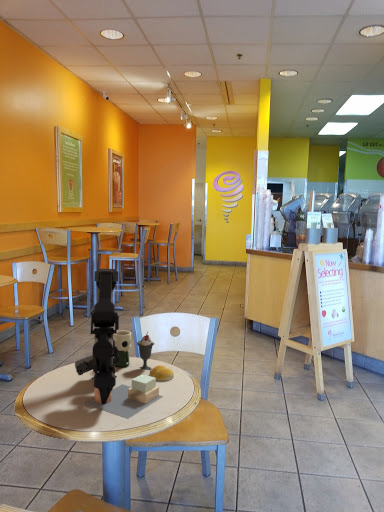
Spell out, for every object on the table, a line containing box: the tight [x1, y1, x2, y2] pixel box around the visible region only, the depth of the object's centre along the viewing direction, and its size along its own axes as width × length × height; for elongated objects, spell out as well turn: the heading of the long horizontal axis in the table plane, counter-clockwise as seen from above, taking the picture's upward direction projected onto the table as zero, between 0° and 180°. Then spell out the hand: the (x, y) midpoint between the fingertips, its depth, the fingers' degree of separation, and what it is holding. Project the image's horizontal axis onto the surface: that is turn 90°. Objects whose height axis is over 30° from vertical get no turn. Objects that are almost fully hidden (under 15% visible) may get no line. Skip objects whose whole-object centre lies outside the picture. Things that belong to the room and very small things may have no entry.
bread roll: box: [149, 365, 175, 382], centre depth 148 cm, size 8×9×4 cm
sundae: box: [136, 331, 155, 371], centre depth 155 cm, size 7×7×15 cm
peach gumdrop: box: [93, 387, 111, 404], centre depth 126 cm, size 5×5×4 cm
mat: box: [83, 384, 164, 420], centre depth 127 cm, size 17×18×1 cm
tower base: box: [128, 385, 160, 404], centre depth 130 cm, size 7×7×3 cm
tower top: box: [131, 373, 157, 393], centre depth 129 cm, size 6×6×3 cm
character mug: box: [113, 329, 132, 367], centre depth 158 cm, size 11×7×13 cm, turn 149°
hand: (102, 397), depth 126 cm, fingers open, 9 cm apart
